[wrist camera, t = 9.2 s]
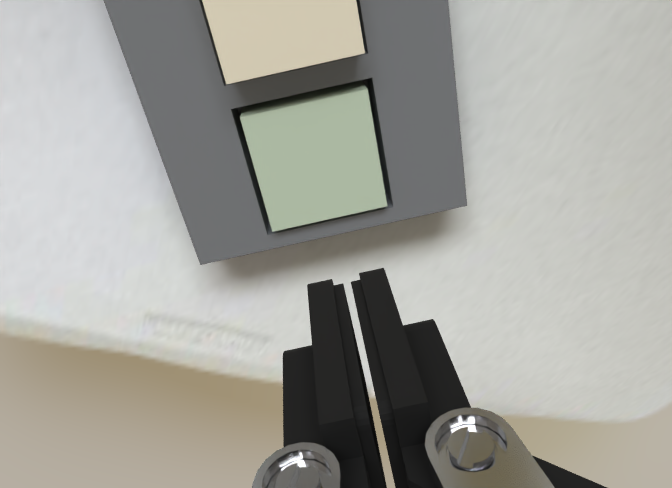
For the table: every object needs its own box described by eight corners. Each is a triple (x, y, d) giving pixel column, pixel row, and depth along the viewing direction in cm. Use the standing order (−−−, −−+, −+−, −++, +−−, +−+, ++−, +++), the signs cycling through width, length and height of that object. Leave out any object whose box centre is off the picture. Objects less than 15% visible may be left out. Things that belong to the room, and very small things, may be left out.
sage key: (360, 78, 23) (367, 88, 21) (379, 188, 25) (387, 206, 23) (242, 105, 23) (239, 117, 21) (272, 212, 25) (272, 231, 23)
